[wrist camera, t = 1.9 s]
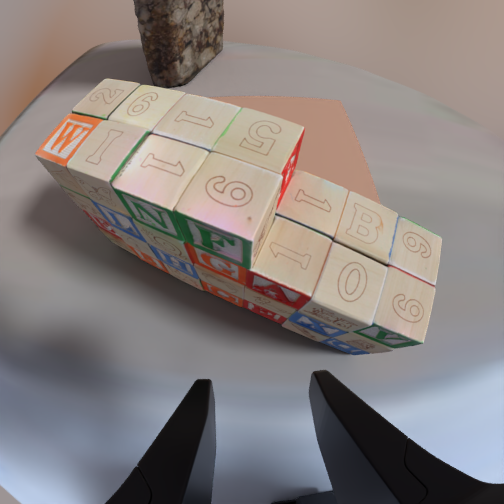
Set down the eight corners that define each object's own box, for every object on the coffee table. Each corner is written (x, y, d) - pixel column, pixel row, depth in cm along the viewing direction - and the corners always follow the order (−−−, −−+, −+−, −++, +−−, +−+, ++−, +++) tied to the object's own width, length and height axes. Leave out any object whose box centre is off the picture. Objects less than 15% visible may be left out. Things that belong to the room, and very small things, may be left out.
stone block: (187, 46, 37) (180, -60, 19) (228, 50, 37) (229, -64, 18) (145, 89, 32) (119, -46, 14) (192, 93, 31) (180, -57, 13)
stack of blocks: (377, 283, 22) (477, 213, 11) (353, 357, 20) (465, 342, 8) (148, 184, 24) (103, 74, 13) (109, 243, 22) (30, 151, 11)
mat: (379, 212, 25) (382, 209, 25) (96, 224, 24) (93, 220, 23) (339, 104, 32) (340, 100, 31) (127, 110, 30) (126, 107, 29)
